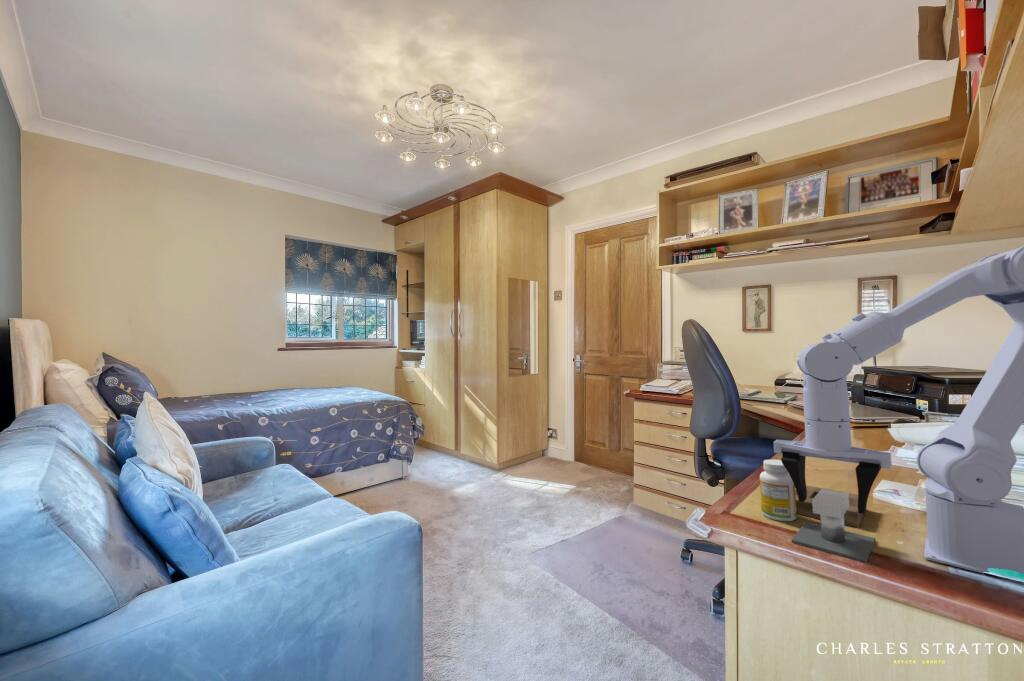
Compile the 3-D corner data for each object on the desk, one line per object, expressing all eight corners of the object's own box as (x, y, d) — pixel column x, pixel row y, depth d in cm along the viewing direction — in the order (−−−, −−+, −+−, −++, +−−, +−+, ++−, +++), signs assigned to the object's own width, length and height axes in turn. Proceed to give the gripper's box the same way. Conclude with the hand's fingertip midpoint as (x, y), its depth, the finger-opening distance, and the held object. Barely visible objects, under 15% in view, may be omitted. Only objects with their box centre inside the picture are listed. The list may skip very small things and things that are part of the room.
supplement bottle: (776, 508, 78) (773, 456, 78) (804, 519, 73) (801, 464, 73) (754, 512, 76) (751, 460, 76) (781, 524, 71) (778, 467, 71)
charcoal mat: (875, 540, 64) (874, 537, 64) (866, 562, 58) (866, 559, 58) (805, 524, 71) (805, 521, 71) (791, 542, 64) (791, 539, 64)
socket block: (866, 509, 75) (865, 496, 75) (858, 527, 68) (857, 512, 69) (801, 496, 83) (800, 484, 83) (788, 511, 76) (787, 498, 76)
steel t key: (843, 549, 61) (840, 505, 61) (814, 542, 63) (812, 499, 63) (850, 534, 65) (848, 493, 66) (823, 528, 68) (821, 488, 68)
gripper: (891, 419, 62) (896, 509, 62) (780, 411, 73) (784, 488, 72) (886, 427, 57) (892, 525, 57) (768, 417, 68) (772, 499, 68)
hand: (831, 505), depth 64 cm, fingers open, 7 cm apart
